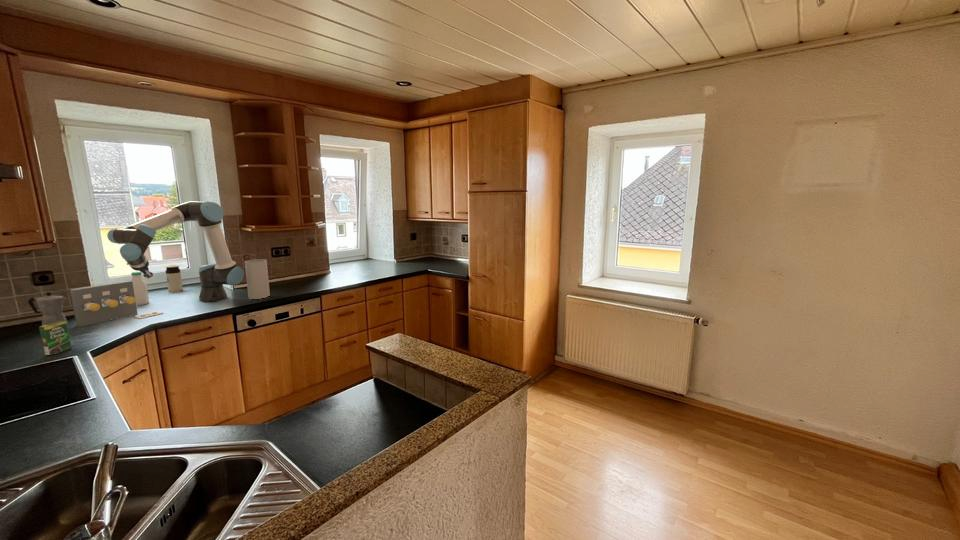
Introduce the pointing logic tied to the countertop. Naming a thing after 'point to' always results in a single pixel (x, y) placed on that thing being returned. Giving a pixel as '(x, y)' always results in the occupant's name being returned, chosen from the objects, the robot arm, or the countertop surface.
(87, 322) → the button panel
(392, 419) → the countertop surface
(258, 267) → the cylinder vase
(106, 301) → the middle button
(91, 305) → the button
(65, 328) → the coffee box
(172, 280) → the travel mug
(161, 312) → the card
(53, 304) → the coffeepot
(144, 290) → the milk bottle
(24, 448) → the countertop surface
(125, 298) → the button
